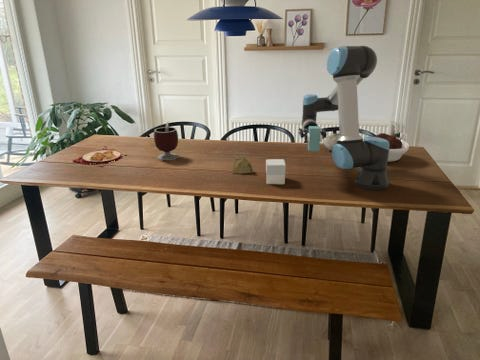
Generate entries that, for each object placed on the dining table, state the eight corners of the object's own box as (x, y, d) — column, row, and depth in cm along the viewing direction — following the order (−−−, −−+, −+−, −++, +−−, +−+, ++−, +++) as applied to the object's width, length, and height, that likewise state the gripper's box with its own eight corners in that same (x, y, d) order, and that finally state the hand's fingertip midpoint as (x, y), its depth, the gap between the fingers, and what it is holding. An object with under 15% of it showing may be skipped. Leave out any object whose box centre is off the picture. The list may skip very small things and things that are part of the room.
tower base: (284, 178, 196) (284, 168, 194) (284, 184, 187) (284, 175, 185) (266, 177, 196) (266, 168, 194) (266, 184, 188) (266, 174, 186)
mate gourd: (177, 161, 223) (174, 127, 215) (153, 161, 223) (150, 127, 216) (181, 153, 237) (179, 121, 230) (159, 153, 237) (156, 121, 230)
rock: (257, 166, 205) (241, 161, 210) (254, 157, 198) (238, 152, 202) (248, 182, 201) (232, 176, 205) (245, 173, 194) (228, 168, 198)
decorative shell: (346, 156, 226) (347, 140, 223) (318, 151, 237) (319, 135, 233) (357, 149, 240) (359, 133, 236) (331, 144, 250) (332, 129, 246)
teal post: (318, 148, 187) (319, 126, 183) (319, 151, 182) (320, 128, 178) (307, 148, 187) (308, 126, 183) (308, 151, 182) (309, 128, 178)
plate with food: (72, 163, 224) (70, 157, 223) (104, 150, 245) (103, 145, 244) (102, 169, 214) (101, 163, 213) (132, 155, 236) (132, 150, 234)
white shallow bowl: (399, 152, 231) (403, 128, 226) (412, 166, 208) (417, 139, 203) (357, 152, 234) (360, 128, 228) (365, 165, 211) (368, 139, 205)
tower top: (283, 168, 194) (283, 159, 192) (285, 174, 186) (285, 165, 184) (265, 168, 194) (266, 159, 192) (266, 174, 186) (266, 165, 184)
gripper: (327, 135, 199) (334, 147, 178) (293, 135, 201) (295, 146, 179) (328, 120, 197) (335, 131, 175) (293, 120, 198) (296, 131, 177)
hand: (315, 139), depth 177 cm, fingers closed on teal post, 5 cm apart
